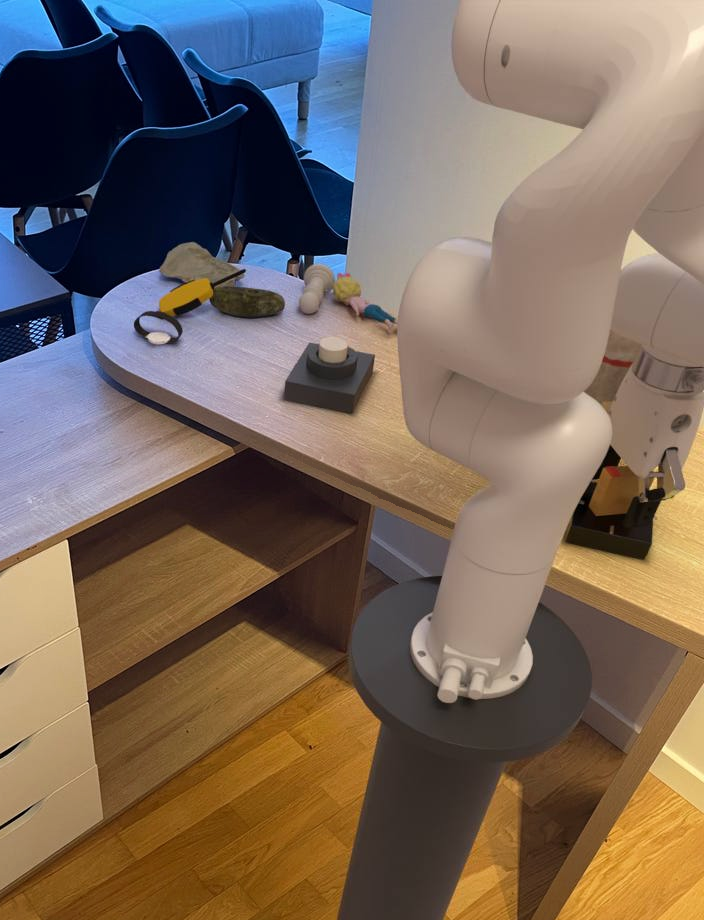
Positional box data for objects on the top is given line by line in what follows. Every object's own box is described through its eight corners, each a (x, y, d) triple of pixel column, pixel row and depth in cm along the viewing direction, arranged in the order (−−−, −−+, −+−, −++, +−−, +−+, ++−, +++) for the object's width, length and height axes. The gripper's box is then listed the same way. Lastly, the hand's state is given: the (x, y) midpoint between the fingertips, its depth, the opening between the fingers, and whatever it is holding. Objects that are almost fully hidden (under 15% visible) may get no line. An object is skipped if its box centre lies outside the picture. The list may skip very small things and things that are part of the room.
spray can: (569, 414, 126) (617, 272, 112) (626, 435, 122) (683, 292, 108) (543, 439, 121) (589, 295, 107) (601, 462, 118) (656, 317, 104)
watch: (142, 328, 141) (132, 344, 140) (137, 303, 137) (126, 319, 136) (186, 339, 139) (176, 354, 138) (182, 313, 135) (172, 329, 134)
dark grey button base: (352, 414, 125) (356, 381, 122) (283, 400, 127) (285, 367, 124) (372, 373, 133) (377, 341, 129) (307, 360, 135) (310, 329, 132)
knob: (631, 502, 108) (648, 462, 104) (639, 512, 106) (656, 472, 102) (588, 506, 107) (603, 465, 103) (595, 516, 106) (611, 476, 102)
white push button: (342, 366, 125) (344, 352, 124) (314, 361, 126) (316, 347, 125) (349, 353, 128) (351, 339, 126) (322, 348, 129) (323, 334, 127)
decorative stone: (279, 304, 148) (281, 280, 145) (286, 317, 145) (288, 293, 142) (208, 309, 146) (208, 285, 144) (213, 323, 143) (213, 298, 140)
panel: (647, 561, 104) (655, 543, 102) (561, 541, 106) (568, 523, 104) (650, 511, 111) (658, 493, 109) (569, 494, 113) (575, 476, 111)
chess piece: (339, 290, 150) (326, 320, 145) (309, 295, 152) (295, 324, 147) (331, 260, 146) (317, 289, 141) (300, 265, 149) (286, 295, 143)
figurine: (405, 337, 143) (346, 297, 152) (415, 310, 141) (354, 271, 149) (379, 339, 140) (320, 298, 148) (388, 311, 137) (328, 271, 145)
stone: (254, 267, 151) (214, 293, 147) (254, 283, 153) (214, 309, 149) (188, 237, 157) (148, 260, 153) (189, 253, 159) (150, 276, 155)
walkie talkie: (165, 324, 144) (251, 286, 140) (160, 316, 143) (246, 277, 138) (162, 303, 146) (246, 264, 142) (156, 295, 145) (241, 255, 140)
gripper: (752, 408, 88) (684, 545, 100) (664, 324, 100) (613, 456, 112) (681, 413, 87) (621, 551, 99) (601, 328, 99) (556, 461, 111)
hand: (617, 500), depth 106 cm, fingers open, 8 cm apart
